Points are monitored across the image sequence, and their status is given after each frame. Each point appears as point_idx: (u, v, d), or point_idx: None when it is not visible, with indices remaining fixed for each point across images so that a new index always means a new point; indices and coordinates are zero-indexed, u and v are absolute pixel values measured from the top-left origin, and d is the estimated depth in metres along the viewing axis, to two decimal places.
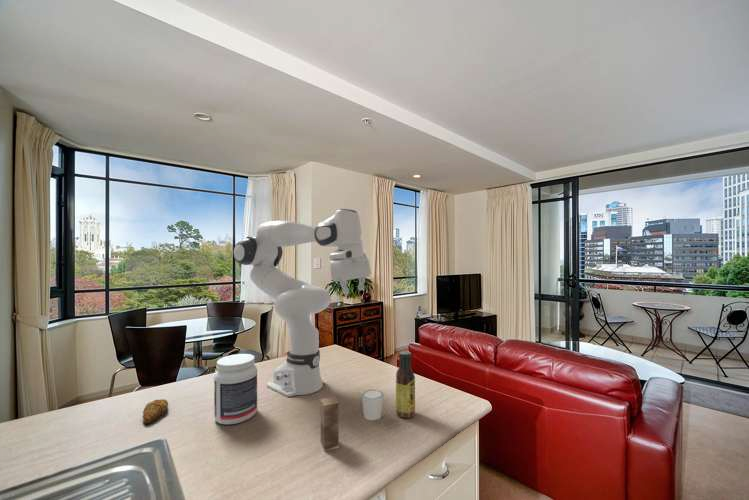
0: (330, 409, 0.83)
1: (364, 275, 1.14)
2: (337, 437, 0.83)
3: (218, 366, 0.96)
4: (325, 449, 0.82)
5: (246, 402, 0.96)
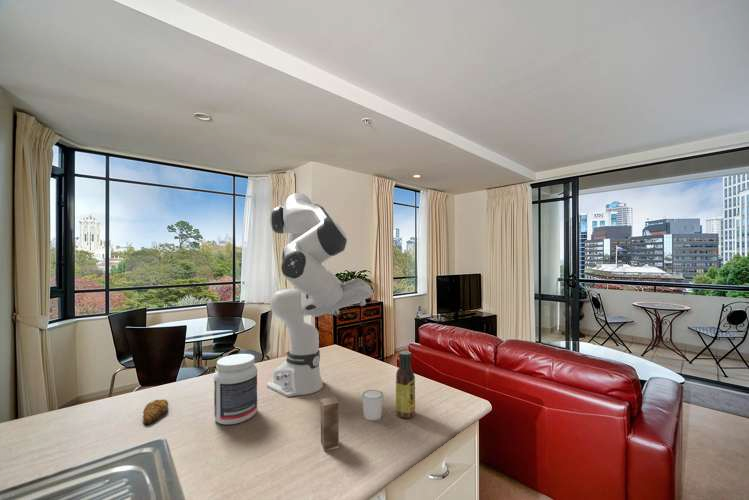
0: (330, 409, 0.83)
1: (357, 301, 0.91)
2: (337, 437, 0.83)
3: (218, 366, 0.96)
4: (325, 449, 0.82)
5: (246, 402, 0.96)
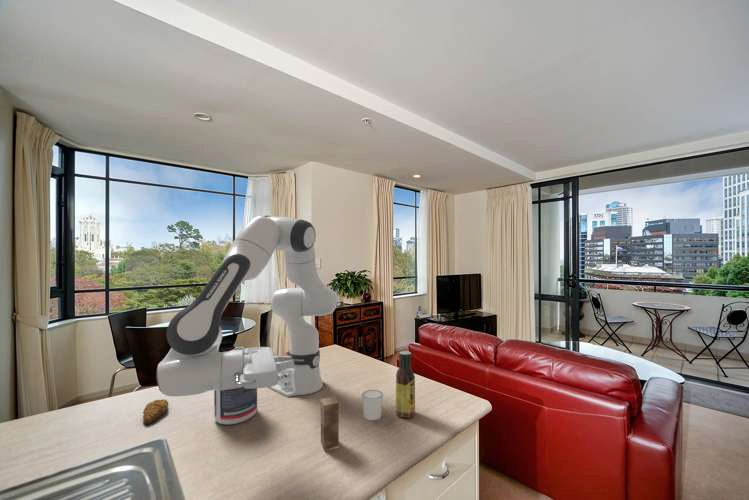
0: (330, 409, 0.83)
1: None
2: (337, 437, 0.83)
3: None
4: (325, 449, 0.82)
5: (246, 402, 0.96)
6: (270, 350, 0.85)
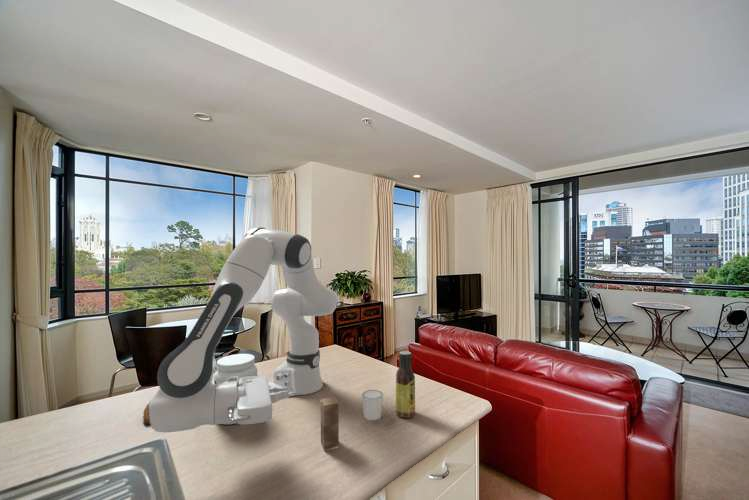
0: (330, 409, 0.83)
1: None
2: (337, 437, 0.83)
3: (218, 366, 0.96)
4: (325, 449, 0.82)
5: None
6: (265, 379, 0.84)
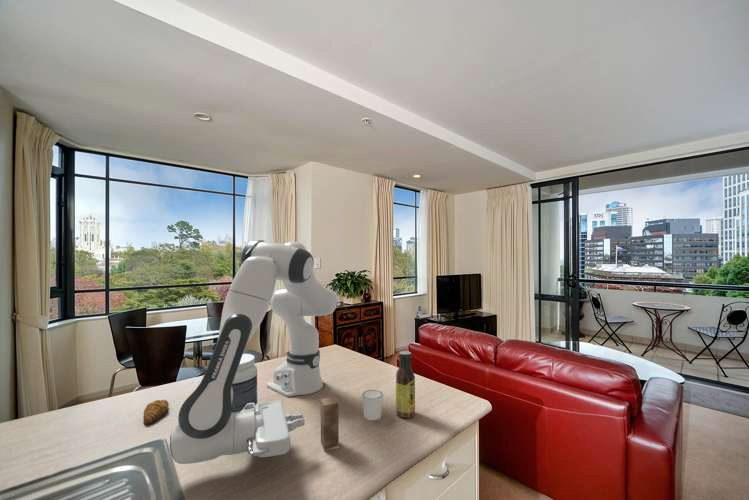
0: (330, 409, 0.83)
1: None
2: (337, 437, 0.83)
3: None
4: (325, 449, 0.82)
5: (246, 401, 0.96)
6: (281, 405, 0.86)
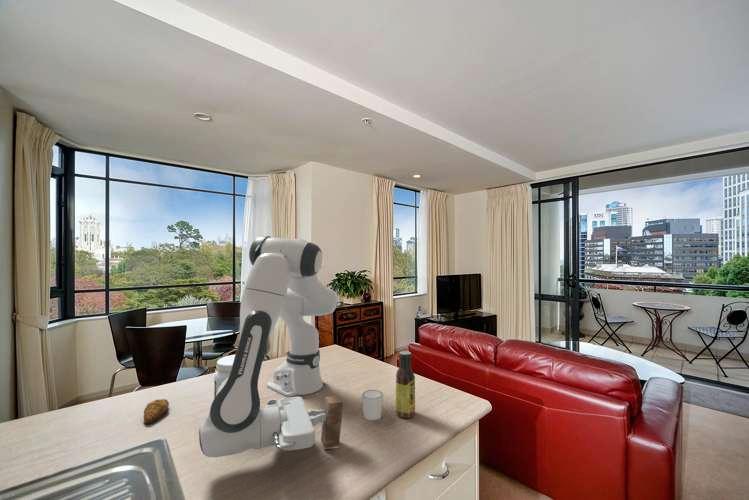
0: (334, 407, 0.83)
1: None
2: (338, 437, 0.83)
3: (218, 366, 0.96)
4: (325, 447, 0.82)
5: None
6: (302, 401, 0.88)
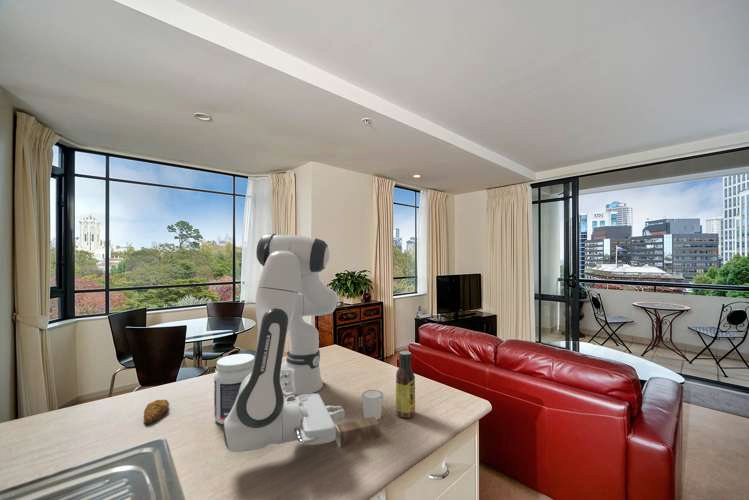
0: (375, 430, 0.87)
1: None
2: (348, 443, 0.84)
3: (218, 366, 0.96)
4: (340, 433, 0.84)
5: None
6: (319, 398, 0.90)
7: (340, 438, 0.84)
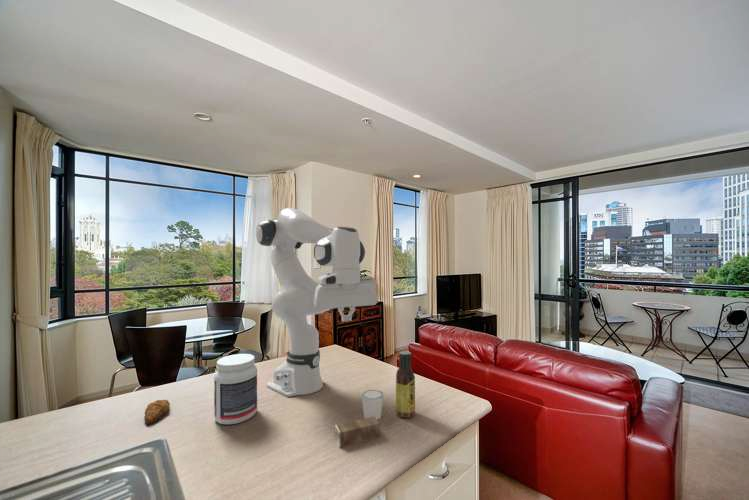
0: (375, 430, 0.87)
1: (363, 304, 0.98)
2: (348, 443, 0.84)
3: (218, 366, 0.96)
4: (340, 433, 0.84)
5: (246, 401, 0.96)
6: None
7: (340, 438, 0.84)
